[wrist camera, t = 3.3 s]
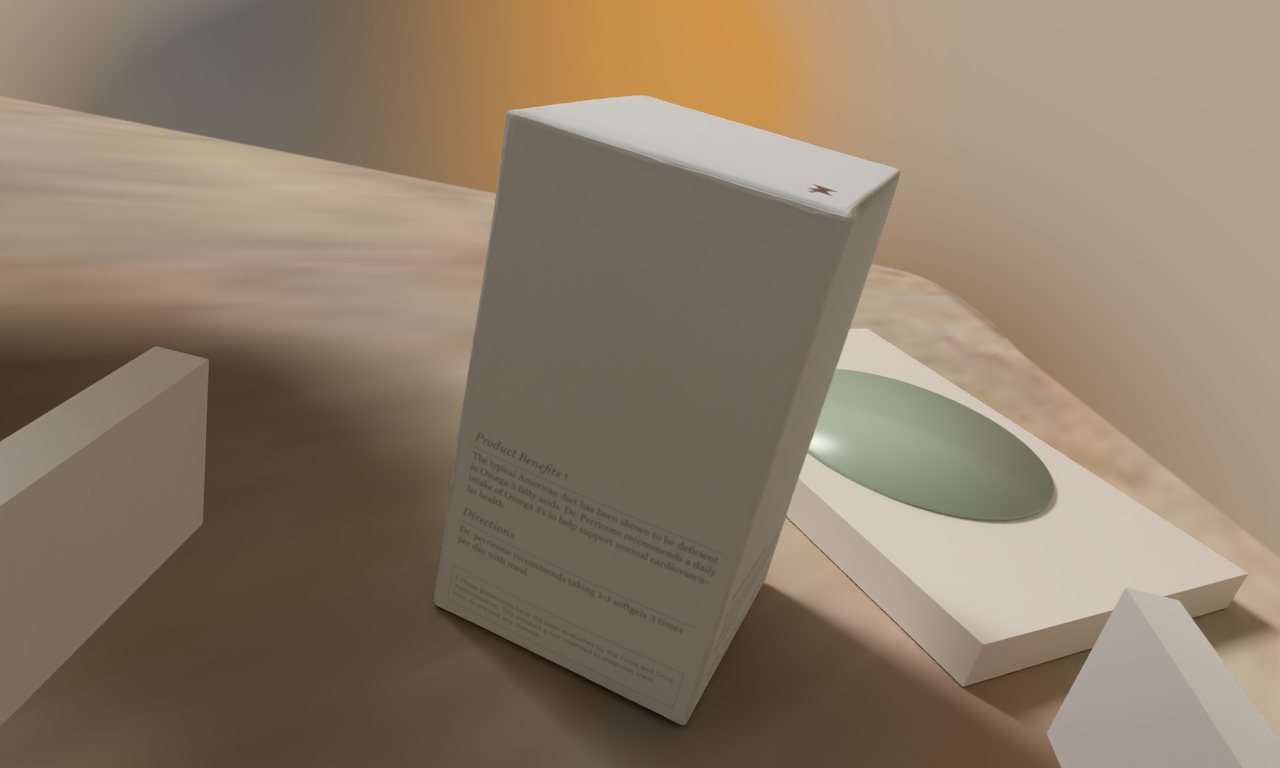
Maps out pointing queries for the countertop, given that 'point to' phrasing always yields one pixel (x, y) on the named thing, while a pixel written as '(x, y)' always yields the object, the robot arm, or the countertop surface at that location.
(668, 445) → the supplement box
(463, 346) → the countertop surface
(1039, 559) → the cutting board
